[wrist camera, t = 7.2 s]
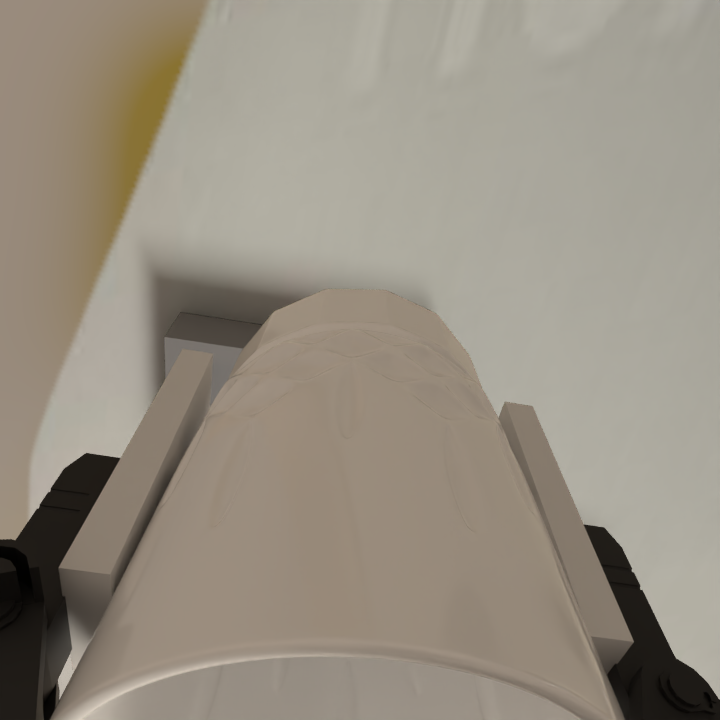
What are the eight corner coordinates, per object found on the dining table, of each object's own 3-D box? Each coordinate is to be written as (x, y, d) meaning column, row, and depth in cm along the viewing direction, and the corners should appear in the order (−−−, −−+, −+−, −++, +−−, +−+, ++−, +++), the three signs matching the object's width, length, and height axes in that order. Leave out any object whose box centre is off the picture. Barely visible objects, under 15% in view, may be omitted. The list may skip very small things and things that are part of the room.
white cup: (372, 529, 19) (375, 953, 10) (164, 408, 16) (-62, 835, 8) (553, 378, 16) (780, 811, 7) (329, 197, 13) (255, 528, 4)
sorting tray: (180, 312, 33) (164, 336, 31) (443, 352, 34) (449, 379, 32) (182, 539, 44) (170, 572, 41) (384, 565, 44) (384, 599, 42)
